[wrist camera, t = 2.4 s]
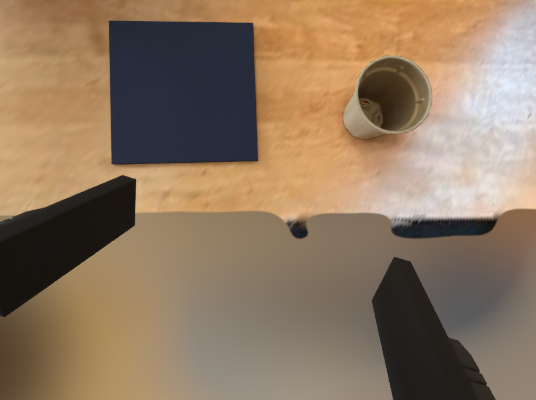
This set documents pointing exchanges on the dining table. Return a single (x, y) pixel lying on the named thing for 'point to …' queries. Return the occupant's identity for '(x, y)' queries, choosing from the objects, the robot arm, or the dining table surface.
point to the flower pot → (388, 98)
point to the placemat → (182, 92)
